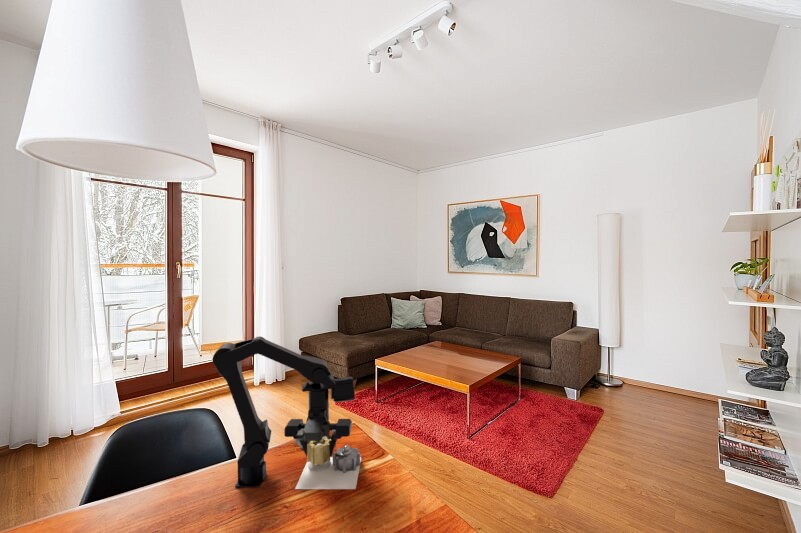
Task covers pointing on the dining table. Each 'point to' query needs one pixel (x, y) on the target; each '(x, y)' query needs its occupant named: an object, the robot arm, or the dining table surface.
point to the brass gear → (319, 451)
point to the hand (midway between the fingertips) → (319, 456)
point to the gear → (346, 459)
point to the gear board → (327, 477)
